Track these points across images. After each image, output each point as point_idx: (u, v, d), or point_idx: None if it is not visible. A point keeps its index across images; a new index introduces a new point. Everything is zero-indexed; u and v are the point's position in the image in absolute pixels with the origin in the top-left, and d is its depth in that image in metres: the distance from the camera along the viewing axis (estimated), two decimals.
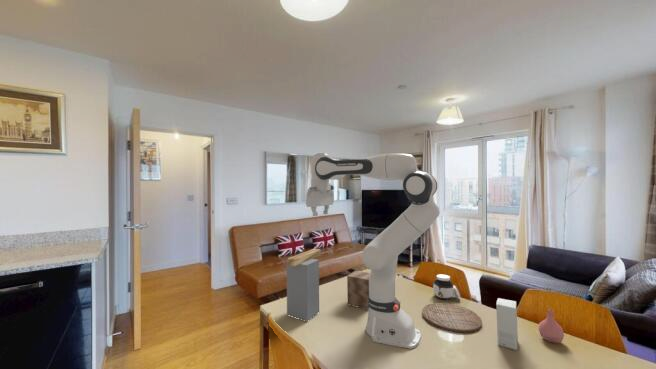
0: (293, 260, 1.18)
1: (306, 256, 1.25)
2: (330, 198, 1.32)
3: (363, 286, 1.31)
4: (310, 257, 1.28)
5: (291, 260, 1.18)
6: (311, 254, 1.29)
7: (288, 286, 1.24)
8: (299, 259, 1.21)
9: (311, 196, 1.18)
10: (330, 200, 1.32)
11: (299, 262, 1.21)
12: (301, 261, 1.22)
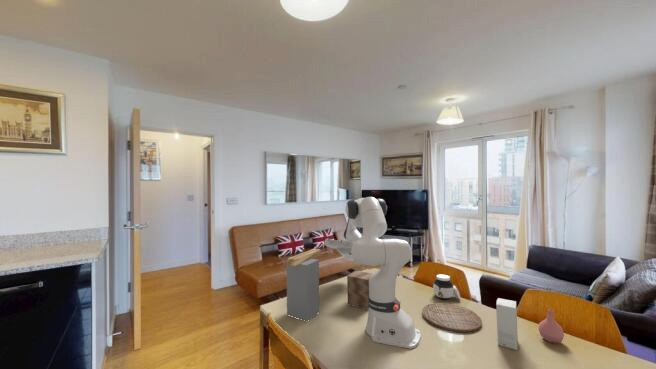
0: (293, 260, 1.18)
1: (306, 256, 1.25)
2: None
3: (363, 286, 1.31)
4: (310, 257, 1.28)
5: (291, 260, 1.18)
6: (311, 254, 1.29)
7: (288, 286, 1.24)
8: (299, 259, 1.21)
9: None
10: None
11: (299, 262, 1.21)
12: (301, 261, 1.22)
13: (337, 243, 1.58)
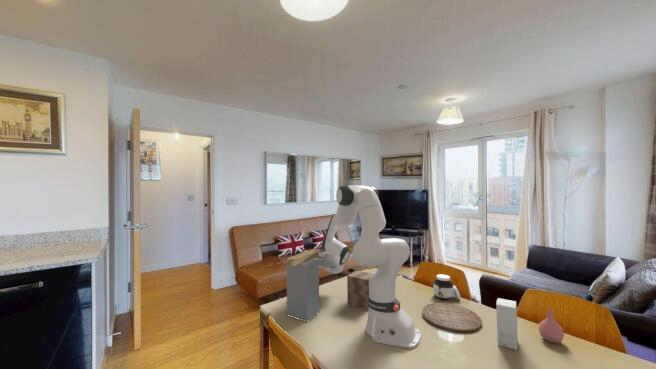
0: (293, 260, 1.18)
1: (306, 256, 1.25)
2: None
3: (363, 286, 1.31)
4: (310, 257, 1.28)
5: (291, 260, 1.18)
6: (311, 254, 1.29)
7: (288, 286, 1.24)
8: (299, 259, 1.21)
9: None
10: None
11: (299, 262, 1.21)
12: (301, 261, 1.22)
13: None
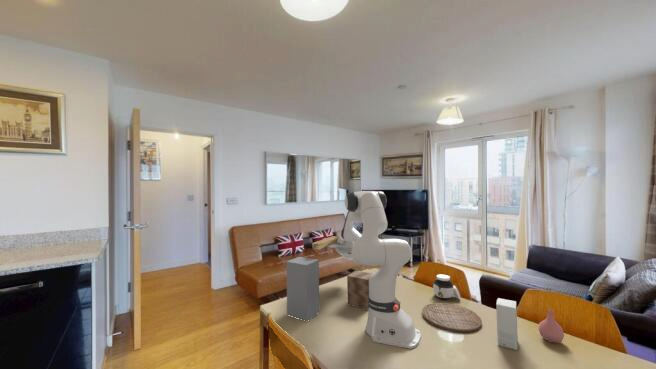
0: (317, 244, 1.32)
1: (328, 242, 1.39)
2: None
3: (363, 286, 1.31)
4: (331, 243, 1.42)
5: (315, 244, 1.32)
6: (332, 240, 1.43)
7: (288, 286, 1.24)
8: (322, 244, 1.35)
9: None
10: None
11: (322, 246, 1.35)
12: (324, 246, 1.36)
13: None
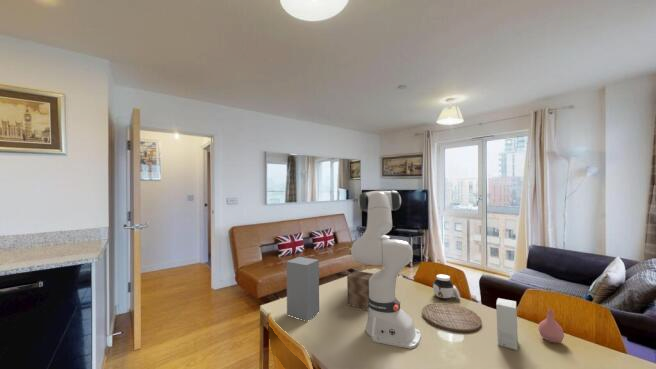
0: None
1: None
2: None
3: (363, 286, 1.31)
4: None
5: None
6: None
7: (288, 286, 1.24)
8: None
9: None
10: None
11: None
12: None
13: None
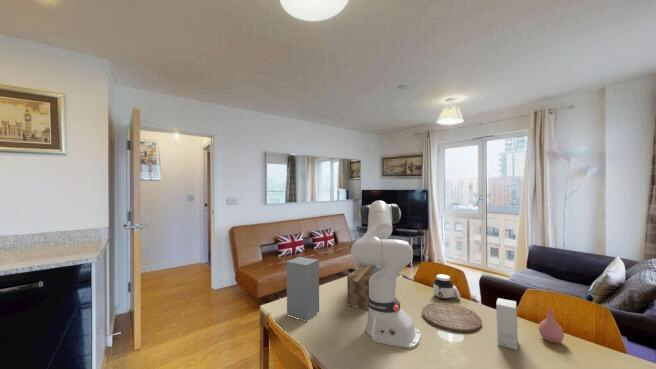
0: (355, 276, 1.28)
1: (364, 271, 1.35)
2: None
3: (363, 286, 1.31)
4: (366, 272, 1.38)
5: (353, 276, 1.28)
6: (367, 269, 1.39)
7: (288, 286, 1.24)
8: (359, 275, 1.30)
9: None
10: None
11: (359, 278, 1.30)
12: (361, 276, 1.32)
13: None
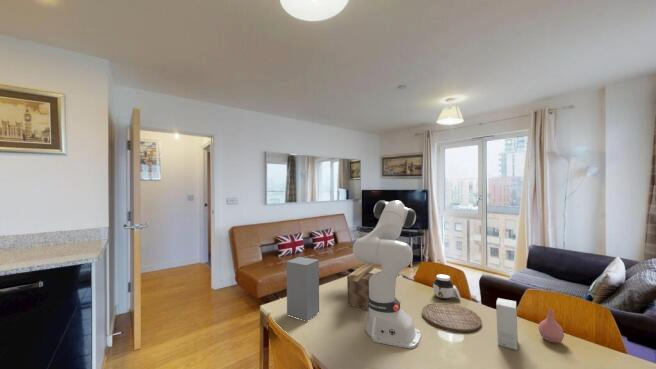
0: (355, 276, 1.28)
1: (364, 271, 1.35)
2: None
3: (363, 286, 1.31)
4: (366, 272, 1.38)
5: (353, 276, 1.28)
6: (367, 269, 1.39)
7: (288, 286, 1.24)
8: (359, 275, 1.30)
9: None
10: None
11: (359, 278, 1.30)
12: (361, 276, 1.32)
13: None
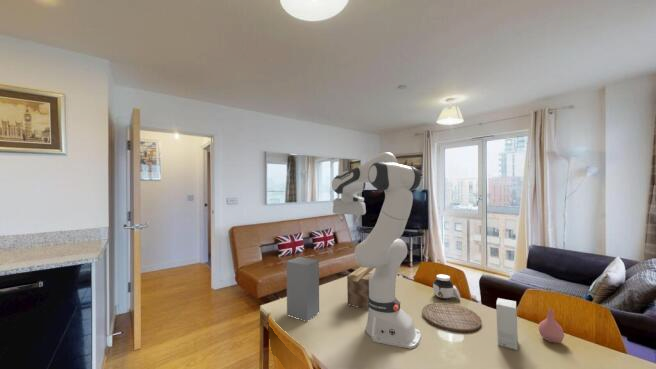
0: (355, 276, 1.28)
1: (364, 271, 1.35)
2: (358, 209, 1.47)
3: (363, 286, 1.31)
4: (366, 272, 1.38)
5: (353, 276, 1.28)
6: (367, 269, 1.39)
7: (288, 286, 1.24)
8: (359, 275, 1.30)
9: None
10: (358, 210, 1.47)
11: (359, 278, 1.30)
12: (361, 276, 1.32)
13: None
